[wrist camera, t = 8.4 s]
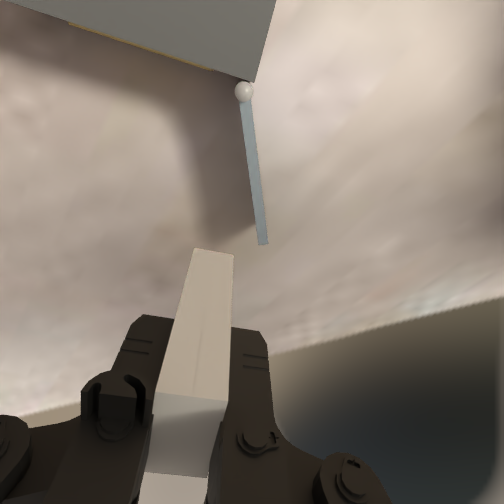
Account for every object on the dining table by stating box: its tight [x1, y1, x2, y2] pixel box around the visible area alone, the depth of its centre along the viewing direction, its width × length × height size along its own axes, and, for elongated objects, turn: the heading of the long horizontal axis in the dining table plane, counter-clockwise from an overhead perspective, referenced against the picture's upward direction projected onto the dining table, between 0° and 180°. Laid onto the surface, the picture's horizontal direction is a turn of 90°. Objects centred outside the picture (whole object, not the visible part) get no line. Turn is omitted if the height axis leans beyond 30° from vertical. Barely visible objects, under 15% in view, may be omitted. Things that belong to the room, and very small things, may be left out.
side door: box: [235, 81, 268, 245], centre depth 27 cm, size 12×1×6 cm, turn 7°
